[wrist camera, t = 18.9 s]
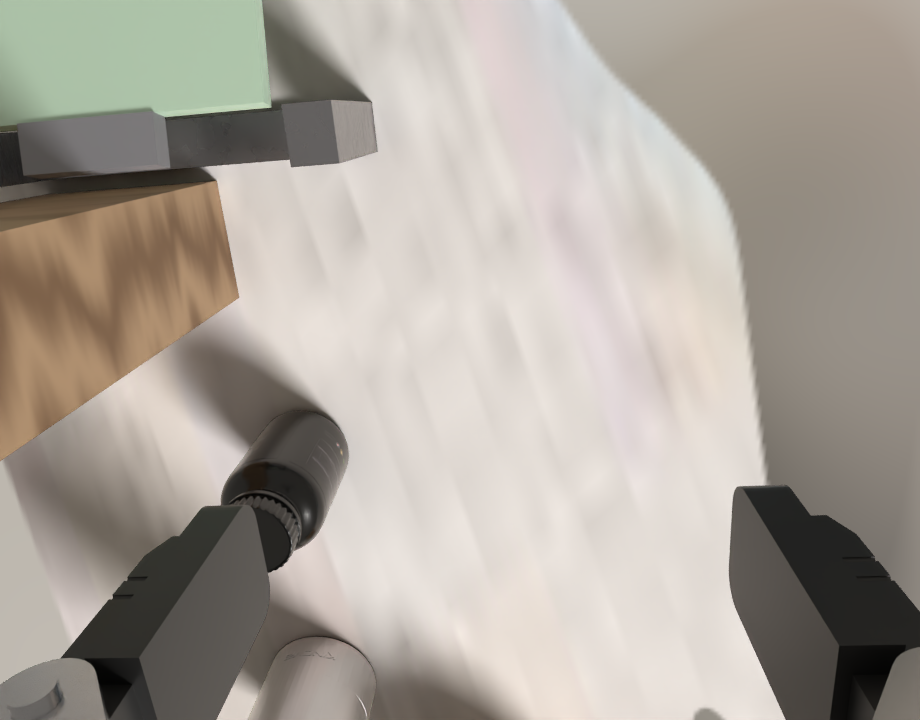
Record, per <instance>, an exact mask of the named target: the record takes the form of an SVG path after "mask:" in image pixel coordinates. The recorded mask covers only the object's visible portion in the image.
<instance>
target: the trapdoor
mask: <svg viewBox="0 0 920 720" xmlns="http://www.w3.org/2000/svg"><path fill="white" fill-rule="evenodd" d="M271 107H272V106H271V95H270V84H269V73H268V62H267V51H266V40H265V29H264V18H263V7H262V0H0V132H4V131H15V130H18V138H19V145H20V153H21V161H22V168H23V176H28V177H33V178H38V179H46V178H58V177H70V176H82V175H94V174H106V173H119V172H131V171H143V170H155V169H167V168H170V159H169V150H168V141H167V131H166V122H165V117H171V116H182V115H193V114H204V113H215V112H226V111H238V110H249V109H260V108H271Z"/></svg>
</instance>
